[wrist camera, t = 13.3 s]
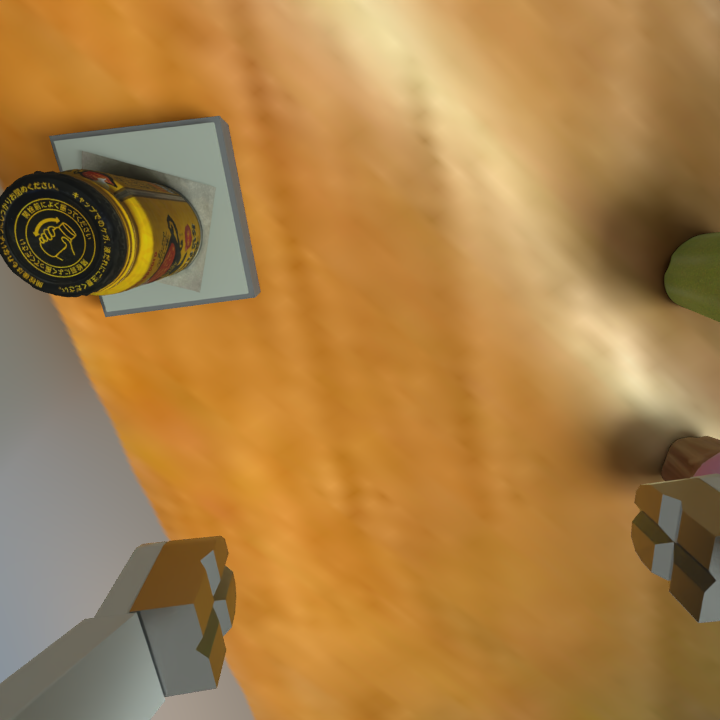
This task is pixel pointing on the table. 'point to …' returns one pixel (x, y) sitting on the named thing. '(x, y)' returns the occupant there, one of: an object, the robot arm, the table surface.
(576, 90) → the table surface
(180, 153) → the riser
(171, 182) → the condiment
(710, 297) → the plant pot
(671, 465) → the cupcake
